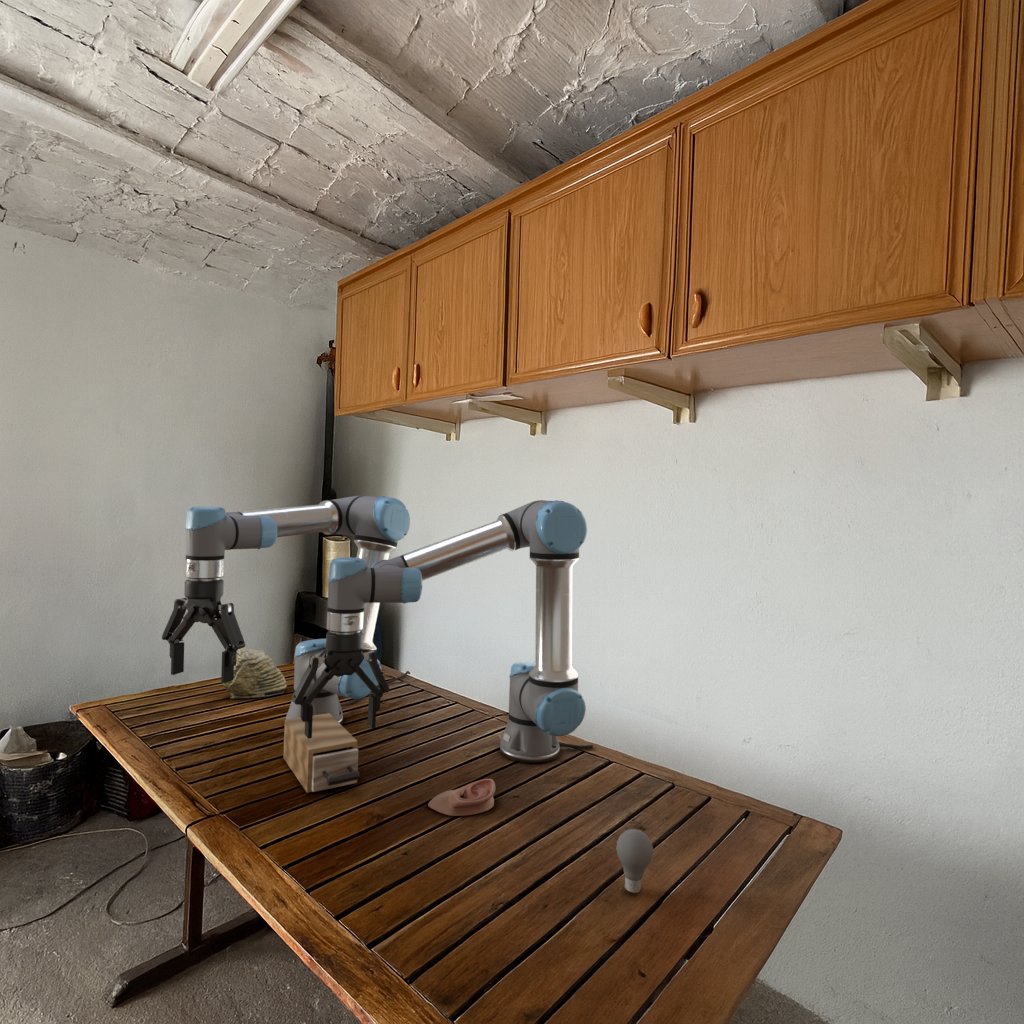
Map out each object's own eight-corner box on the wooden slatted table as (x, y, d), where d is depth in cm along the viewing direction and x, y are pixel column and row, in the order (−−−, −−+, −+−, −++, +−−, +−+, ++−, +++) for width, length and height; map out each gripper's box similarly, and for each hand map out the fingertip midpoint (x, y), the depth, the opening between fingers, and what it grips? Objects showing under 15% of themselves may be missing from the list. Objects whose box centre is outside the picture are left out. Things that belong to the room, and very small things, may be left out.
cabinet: (355, 782, 141) (357, 741, 141) (306, 793, 135) (308, 749, 135) (328, 750, 158) (329, 713, 158) (283, 758, 152) (284, 719, 152)
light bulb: (610, 879, 108) (613, 822, 108) (644, 879, 109) (647, 822, 109) (619, 902, 102) (622, 840, 102) (655, 901, 103) (658, 840, 103)
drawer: (366, 793, 134) (367, 759, 134) (320, 803, 129) (322, 768, 129) (330, 751, 155) (331, 722, 155) (290, 759, 149) (291, 728, 149)
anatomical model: (423, 792, 129) (441, 769, 140) (422, 812, 129) (440, 787, 140) (487, 801, 126) (499, 777, 137) (486, 821, 126) (498, 795, 137)
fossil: (218, 695, 195) (220, 647, 195) (278, 685, 208) (279, 640, 207) (228, 703, 189) (230, 653, 188) (289, 692, 201) (290, 645, 201)
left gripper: (144, 576, 136) (142, 674, 136) (239, 585, 128) (236, 689, 128) (173, 572, 143) (171, 665, 143) (264, 581, 135) (261, 680, 136)
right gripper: (288, 639, 124) (283, 747, 124) (407, 630, 137) (402, 727, 138) (279, 631, 130) (275, 734, 130) (393, 623, 143) (389, 716, 144)
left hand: (201, 677), depth 136 cm, fingers open, 13 cm apart
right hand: (340, 731), depth 134 cm, fingers open, 13 cm apart
